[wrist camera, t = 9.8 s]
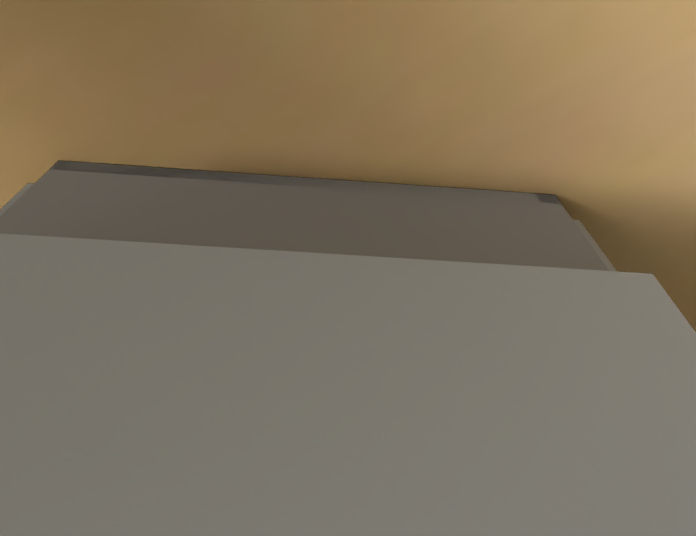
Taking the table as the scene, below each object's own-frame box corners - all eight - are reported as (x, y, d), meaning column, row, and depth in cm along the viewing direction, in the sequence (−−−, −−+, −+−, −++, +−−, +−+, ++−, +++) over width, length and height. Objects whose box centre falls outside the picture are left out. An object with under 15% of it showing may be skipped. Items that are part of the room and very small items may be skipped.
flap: (-764, 976, 4) (-863, 968, 4) (-58, 255, 11) (-69, 229, 11) (1083, 957, 5) (1151, 952, 4) (640, 296, 12) (652, 273, 12)
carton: (120, 537, 26) (78, 663, 21) (32, 158, 16) (-79, 255, 12) (461, 548, 26) (484, 671, 22) (578, 196, 17) (659, 298, 12)
